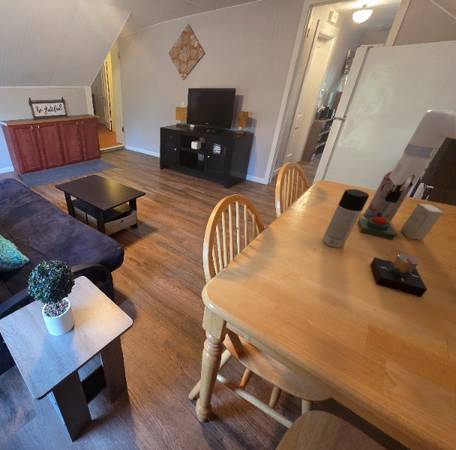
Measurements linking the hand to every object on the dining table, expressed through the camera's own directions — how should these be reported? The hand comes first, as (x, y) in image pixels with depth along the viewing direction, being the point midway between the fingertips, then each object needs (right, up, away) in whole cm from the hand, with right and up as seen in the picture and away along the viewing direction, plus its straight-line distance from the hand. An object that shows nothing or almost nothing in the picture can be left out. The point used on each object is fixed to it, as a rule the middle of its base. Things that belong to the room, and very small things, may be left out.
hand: (389, 201), depth 90 cm
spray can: (-22, -15, -1) cm, 27 cm away
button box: (0, -11, +7) cm, 13 cm away
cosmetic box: (+12, -13, +4) cm, 18 cm away
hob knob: (-15, -23, -18) cm, 33 cm away
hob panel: (-15, -25, -17) cm, 34 cm away
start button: (0, -8, +5) cm, 9 cm away
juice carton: (+9, -6, +15) cm, 19 cm away
